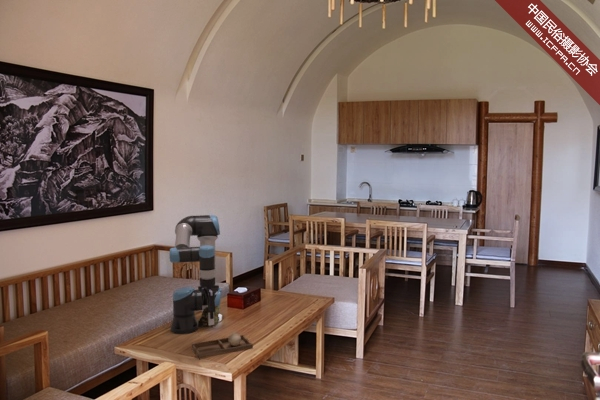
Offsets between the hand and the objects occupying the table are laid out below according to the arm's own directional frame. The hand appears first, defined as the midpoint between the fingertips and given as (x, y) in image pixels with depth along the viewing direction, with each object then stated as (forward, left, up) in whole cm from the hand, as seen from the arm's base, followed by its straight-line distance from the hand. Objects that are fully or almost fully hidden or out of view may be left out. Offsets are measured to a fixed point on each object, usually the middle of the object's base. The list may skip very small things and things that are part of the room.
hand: (208, 321), depth 242 cm
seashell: (0, 0, -3) cm, 3 cm away
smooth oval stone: (0, +14, -15) cm, 20 cm away
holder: (0, +7, -16) cm, 17 cm away
